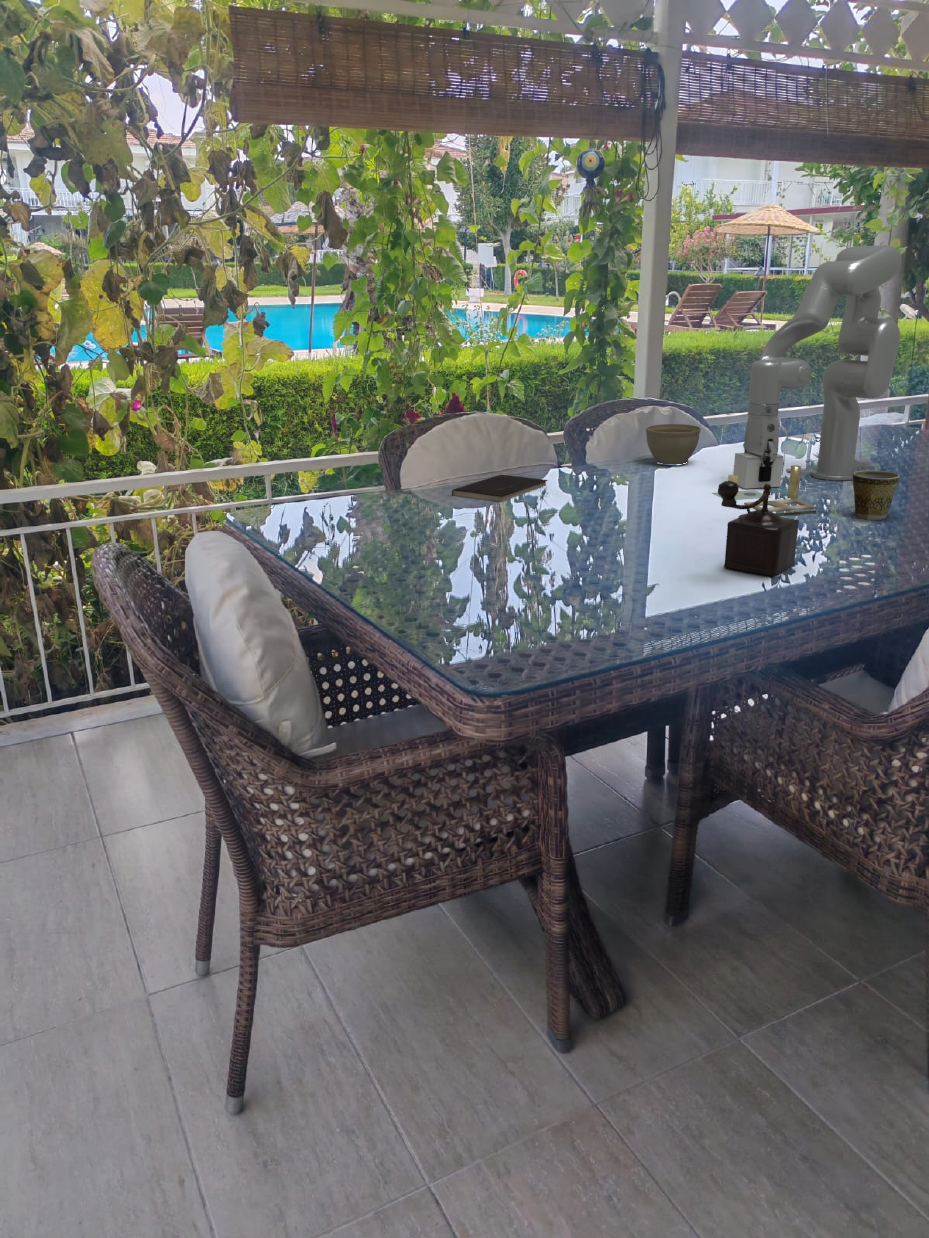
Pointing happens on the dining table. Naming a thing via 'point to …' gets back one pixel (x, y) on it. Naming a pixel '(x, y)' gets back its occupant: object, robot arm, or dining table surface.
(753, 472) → the block
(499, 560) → the dining table surface
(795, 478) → the brass pin
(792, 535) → the manual coffee grinder
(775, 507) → the board
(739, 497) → the pad
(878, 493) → the ceramic cup
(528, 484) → the hardcover book
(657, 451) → the planter bowl
